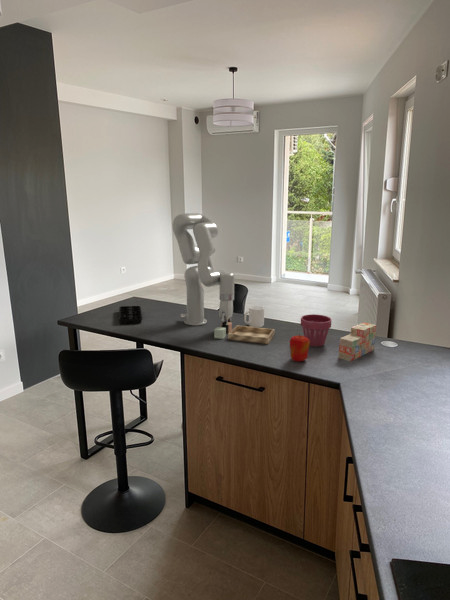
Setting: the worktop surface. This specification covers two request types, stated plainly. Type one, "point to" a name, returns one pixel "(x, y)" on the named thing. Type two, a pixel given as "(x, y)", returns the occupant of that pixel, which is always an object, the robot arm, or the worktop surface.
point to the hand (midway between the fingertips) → (226, 330)
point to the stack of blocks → (357, 342)
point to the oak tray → (251, 334)
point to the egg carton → (130, 315)
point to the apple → (299, 348)
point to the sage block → (219, 332)
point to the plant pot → (316, 328)
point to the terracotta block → (229, 326)
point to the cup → (255, 316)
